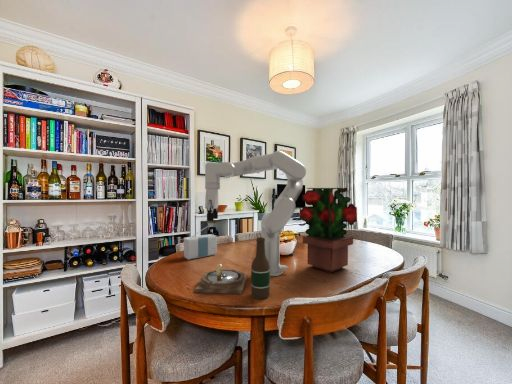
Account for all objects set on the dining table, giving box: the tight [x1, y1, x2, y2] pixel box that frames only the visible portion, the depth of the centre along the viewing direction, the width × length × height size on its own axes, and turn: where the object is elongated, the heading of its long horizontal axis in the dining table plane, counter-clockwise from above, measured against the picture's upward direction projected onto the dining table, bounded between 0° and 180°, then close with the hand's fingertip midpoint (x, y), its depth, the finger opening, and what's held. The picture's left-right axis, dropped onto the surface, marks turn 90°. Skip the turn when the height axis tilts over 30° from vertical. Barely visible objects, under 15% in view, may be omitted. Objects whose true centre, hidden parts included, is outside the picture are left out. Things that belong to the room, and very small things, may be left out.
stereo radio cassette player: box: [183, 225, 218, 261], centre depth 158 cm, size 21×8×20 cm, turn 130°
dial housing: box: [194, 268, 248, 295], centre depth 113 cm, size 20×20×4 cm
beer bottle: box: [250, 236, 271, 300], centre depth 101 cm, size 8×8×24 cm
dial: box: [208, 263, 238, 283], centre depth 113 cm, size 14×14×9 cm
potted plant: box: [299, 187, 358, 274], centre depth 136 cm, size 22×22×45 cm
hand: (212, 219), depth 125 cm, fingers open, 9 cm apart
